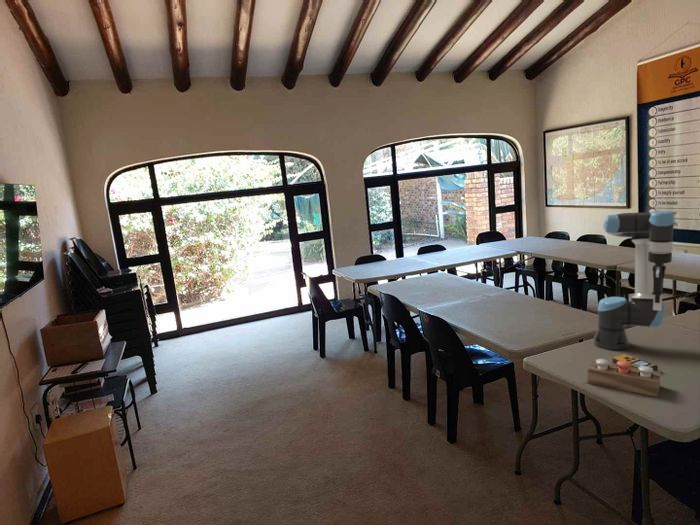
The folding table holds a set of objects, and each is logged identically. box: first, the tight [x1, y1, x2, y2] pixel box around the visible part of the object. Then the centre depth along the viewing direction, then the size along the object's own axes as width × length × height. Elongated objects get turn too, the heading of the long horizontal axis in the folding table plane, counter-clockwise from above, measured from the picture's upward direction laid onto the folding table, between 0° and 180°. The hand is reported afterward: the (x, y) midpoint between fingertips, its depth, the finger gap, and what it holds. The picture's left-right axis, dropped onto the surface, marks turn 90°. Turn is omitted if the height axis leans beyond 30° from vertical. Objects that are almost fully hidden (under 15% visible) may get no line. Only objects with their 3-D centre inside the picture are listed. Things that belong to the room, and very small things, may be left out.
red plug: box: [616, 361, 631, 374], centre depth 185 cm, size 5×5×8 cm
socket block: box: [587, 360, 661, 397], centre depth 185 cm, size 10×24×6 cm, turn 52°
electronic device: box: [612, 353, 658, 371], centre depth 200 cm, size 8×16×3 cm, turn 22°
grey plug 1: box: [595, 358, 610, 370], centre depth 189 cm, size 5×5×8 cm
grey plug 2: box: [639, 366, 653, 378], centre depth 180 cm, size 5×5×8 cm
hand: (657, 309), depth 182 cm, fingers closed
